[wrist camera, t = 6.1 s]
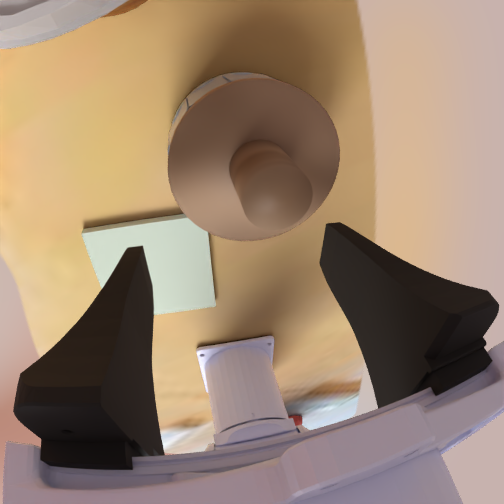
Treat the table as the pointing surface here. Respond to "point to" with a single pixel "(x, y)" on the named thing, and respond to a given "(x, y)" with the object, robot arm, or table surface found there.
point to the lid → (253, 159)
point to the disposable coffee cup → (52, 18)
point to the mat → (159, 259)
